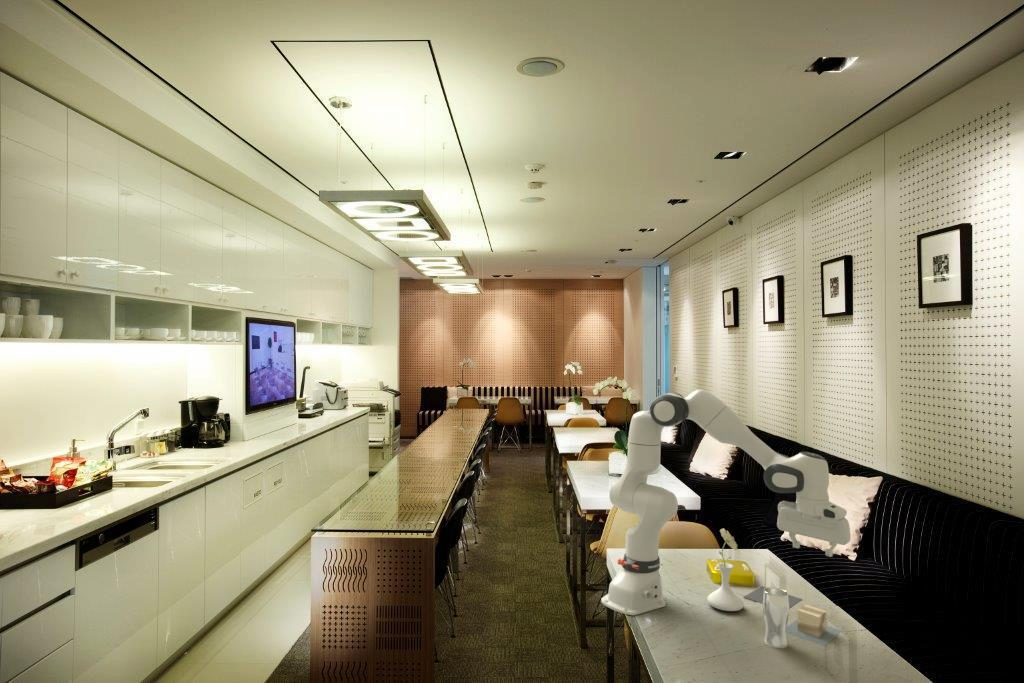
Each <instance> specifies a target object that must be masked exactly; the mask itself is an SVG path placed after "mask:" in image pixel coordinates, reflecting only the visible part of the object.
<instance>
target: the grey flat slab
mask: <svg viewBox="0 0 1024 683" xmlns="http://www.w3.org/2000/svg"><path fill="white" fill-rule="evenodd" d="M841 632H842V630H841V629H838V628H835V627H832V626H829V625H826V632H824V633H823V634H822V635H821V636H820V637H816V636H813V635H810V634H807V633H805V632H802V631H799V630H798V618H796V620H794V621H793V622H791V623H790V624H789V625H787V626H786V634H787V633H788V634H790V635H793V636H796V637H799V638H801V639H804V640H806V641H810V642H812V643H815V644H818V645H820V646H822V647H825V646H826V645H827V644H829V643H830V642H831V641H832V640H833V639H834V638H835V637H836V636H838V635H839V634H840V633H841Z"/></svg>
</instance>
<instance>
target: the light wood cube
mask: <svg viewBox="0 0 1024 683" xmlns="http://www.w3.org/2000/svg"><path fill="white" fill-rule="evenodd" d="M797 619H798V630H799V631H802V632H805V633H807V634H810V635H813V636H816V637H820V636H821V635H822V634H823V633H824V632H826V626H827V611H826V610H823V609H820V608H817V607H814V606H811V605H808V604H804V605H803V606H801V608H800V607H799V608H798V609H797Z"/></svg>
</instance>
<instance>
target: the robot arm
mask: <svg viewBox="0 0 1024 683" xmlns="http://www.w3.org/2000/svg"><path fill="white" fill-rule="evenodd" d="M685 420H691V421H693V422H694V423H696V424H697V425H698V426H699V427H700V428H701V429H702V430H704V432H706V433H707V434H708V435H709V436H710V437H712V438H713V439H715V440H716V441H718V442H719V443H721V444H727V445H731V446H736V447H738V448H740V449H741V450H743V451H744V452H745V453H747V455H749V456H750V457H752V458H753V459H754V460H755V461H756V462H757V463H758V464H759V465H761V466H762V468H763V469H764V472H763V481H764V484H765V485H766V487H767V488H768V489H769V490H771V491H772V492H774V493H777V494H794V493H795V494H796V499H795V500H796V502H794V501H788V500H782V501H780V502H779V503H778V504H777V511H778V515H777V522H776V527H777V528H778V530H780V531H783V532H786V533H788V537H789V538H790V540H791V542H792V548H795V549H800V548H801V545H800V544H801V541H798V539H797V538H796V535H800V536H803V537H808V538H812V539H817V540H820V541H824V542H825V541H826V542H827V543H828V544H829V546H830V548H827V549H825V551H824V552H825V553H824V554H825V557H830V558H831V557H833V556H834V555H833V552H834V550H835V548H836V547H837V545H841V546H845V545H847V544H848V543H850V541H851V528H850V523H849V520H848V519H847V518H846V516H847V514H848V513H847V512H848V511H847V509H845V508H843V507H842V506H839V505H837V504H836V503H834V502H831V501H830V496H829V492H828V491H829V490H828V489H829V485H830V475H829V474H830V470H829V465H828V462H827V460H826V458H825V457H823V456H822V455H819V454H818V453H814V452H809V451H800V452H799V453H798V454H795V455H793V456H791V457H790V456H788V455H784V454H782V453H779V452H777V451H776V450H774V449H772V447H771V446H769V445H768V444H767V443H766V442H764V441H763V440H762V439H761V438H759V437H758V436H757V435H756V434H755V433H753V432H752V431H751V429H750V428H749V427H748V426H747V425H746V424H745V423H744V421H743V420H742V419H741V418H740V417H739V416H738V414H737V413H736V412H735V411H733V409H731V408H730V406H728V405H727V404H726V403H725V402H723V401H722V400H721V399H720V398H718V397H717V396H715V395H714V394H712V393H710V392H709V391H707V390H706V389H702V388H697V389H694V390H693V391H692V392H690V393H689V394H688V395H687V396H683V395H681V394H679V393H677V392H666V393H662V394H660V395H657V396H656V397H655V398H654V399H653V400H652V401H651V403H650V406H649V410H639V411H636V412H635V413H634V414H633V415H632V417H631V420H630V424H629V430H628V437H627V441H628V442H627V458H626V465H625V469H624V470H623V473H622V474H621V476H620V477H619V478H618V479H617V480H615V481H614V482H613V483H612V484H611V486H610V489H609V493H608V494H609V501H610V504H612V505H613V506H614V507H616V508H618V509H619V510H621V511H623V512H626V513H630V514H633V515H637V516H638V520H637V523H636V524H635V525H633V526H631V527H629V528H628V530H626V533H625V553H624V555H623V559H622V558H619V557H618V559H617V565H619V566H621V568H620V569H619V571H618V572H617V574H616V575H615V576H614V578H613V579H612V580H611V582H610V583H609V584H608V586H609V587H608V593H607V594H605V595H604V596H603V597H601V598H600V599H601V600H600V603H601V604H602V605H603V606H605V607H607V608H609V609H610V610H613V611H615V612H618V613H621V614H624V615H629V616H637V615H640V614H644V613H647V612H651V611H654V610H657V609H660V608H663V607H666V606H667V603H666V601H665V600H664V592H663V591H664V590H663V581H662V579H663V578H662V576H661V575H660V574H661V573H660V568H661V567H660V566H661V559H660V556H659V545H660V534H661V532H662V529H663V527H664V526H665V525H666V523H667V522H669V521H671V520H672V519H673V518H674V517H675V515H676V514H677V512H678V510H679V509H678V507H679V502H678V499H677V495H675V493H674V492H672V491H670V490H668V489H667V488H666V489H665V488H664V487H661V486H657V485H653V484H650V483H649V484H648V483H647V482H648V477H649V475H650V474H652V473H655V472H656V471H658V469H659V468H660V465H661V448H662V446H661V445H662V432H663V429H664V428H667V427H668V428H669V427H674V426H677V425H679V424H680V423H682V422H683V421H685Z"/></svg>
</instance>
